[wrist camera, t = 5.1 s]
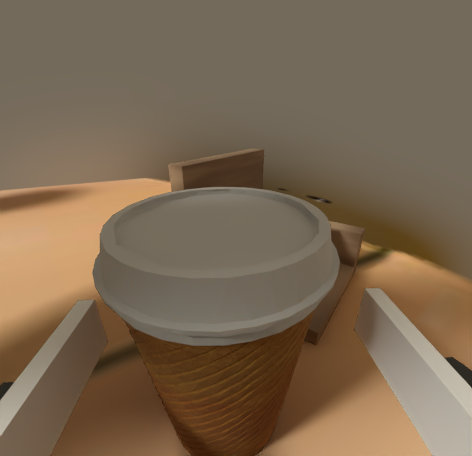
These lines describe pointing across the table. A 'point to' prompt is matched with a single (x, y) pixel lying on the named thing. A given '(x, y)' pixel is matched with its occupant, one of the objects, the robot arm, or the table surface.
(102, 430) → the table surface
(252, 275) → the disposable coffee cup
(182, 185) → the offcut rack
